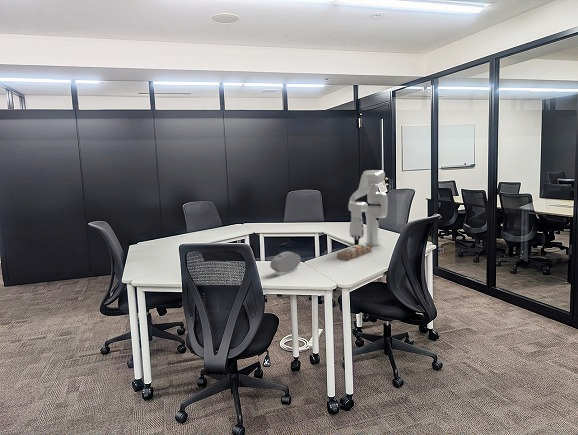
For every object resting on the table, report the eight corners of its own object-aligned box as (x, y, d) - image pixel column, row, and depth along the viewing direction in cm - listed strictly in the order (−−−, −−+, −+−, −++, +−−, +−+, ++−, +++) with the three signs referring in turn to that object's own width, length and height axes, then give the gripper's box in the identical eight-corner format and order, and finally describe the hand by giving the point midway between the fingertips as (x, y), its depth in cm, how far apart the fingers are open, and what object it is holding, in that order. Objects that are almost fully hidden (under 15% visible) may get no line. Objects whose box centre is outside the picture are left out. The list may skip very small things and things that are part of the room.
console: (359, 250, 326) (359, 244, 325) (371, 251, 319) (371, 245, 319) (337, 258, 301) (336, 252, 301) (349, 260, 295) (349, 254, 294)
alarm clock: (293, 267, 281) (293, 248, 279) (301, 268, 277) (300, 249, 275) (270, 275, 263) (269, 255, 262) (277, 276, 259) (277, 256, 258)
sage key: (361, 248, 322) (360, 243, 321) (366, 248, 319) (366, 244, 318) (357, 249, 318) (357, 245, 318) (363, 249, 315) (363, 245, 314)
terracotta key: (355, 250, 316) (355, 245, 315) (361, 250, 313) (361, 246, 312) (352, 251, 312) (352, 246, 311) (358, 252, 309) (358, 247, 308)
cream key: (350, 252, 310) (349, 247, 309) (356, 252, 306) (355, 248, 306) (346, 253, 306) (346, 248, 305) (352, 254, 303) (352, 249, 302)
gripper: (368, 220, 307) (368, 245, 310) (350, 218, 317) (350, 243, 319) (363, 221, 302) (363, 246, 304) (344, 220, 311) (345, 244, 313)
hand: (356, 244), depth 311 cm, fingers closed
